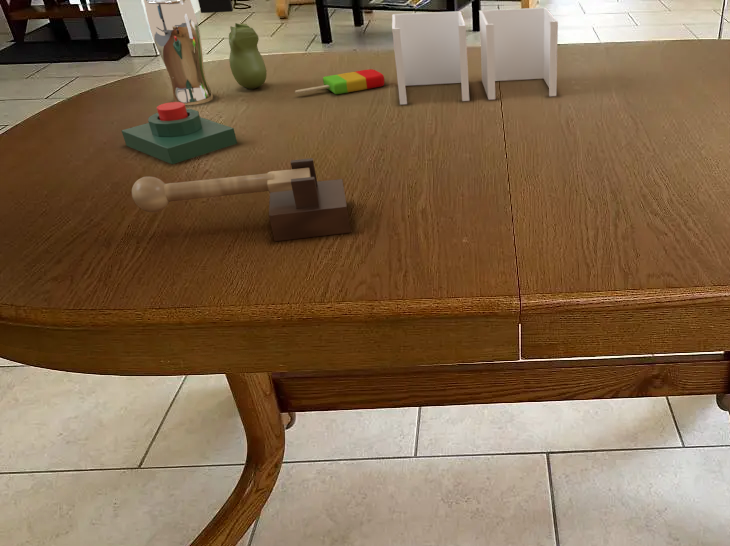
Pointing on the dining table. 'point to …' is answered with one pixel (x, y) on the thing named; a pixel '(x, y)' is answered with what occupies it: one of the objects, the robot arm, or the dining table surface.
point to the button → (172, 111)
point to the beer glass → (179, 48)
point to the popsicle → (350, 82)
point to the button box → (179, 137)
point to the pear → (246, 57)
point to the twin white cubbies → (498, 48)
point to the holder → (309, 207)
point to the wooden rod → (210, 187)
